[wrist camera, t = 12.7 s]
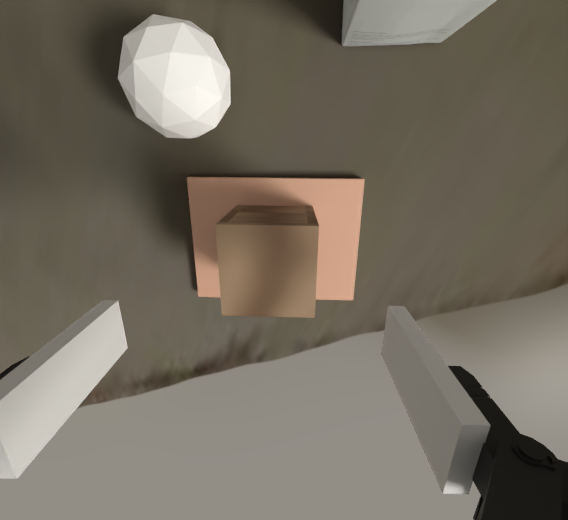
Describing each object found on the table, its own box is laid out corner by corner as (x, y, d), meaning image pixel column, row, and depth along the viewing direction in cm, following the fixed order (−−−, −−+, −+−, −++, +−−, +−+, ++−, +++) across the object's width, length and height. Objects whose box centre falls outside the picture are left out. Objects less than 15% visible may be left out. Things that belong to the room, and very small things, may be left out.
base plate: (201, 292, 32) (198, 296, 31) (190, 176, 28) (186, 177, 27) (351, 295, 32) (353, 300, 31) (362, 178, 28) (364, 179, 27)
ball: (187, 77, 28) (134, -26, 20) (260, 102, 26) (231, -3, 18) (140, 141, 26) (64, 55, 19) (214, 173, 24) (161, 90, 17)
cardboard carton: (240, 274, 30) (221, 315, 23) (237, 205, 28) (215, 224, 20) (309, 276, 30) (314, 317, 22) (312, 206, 28) (319, 225, 20)
